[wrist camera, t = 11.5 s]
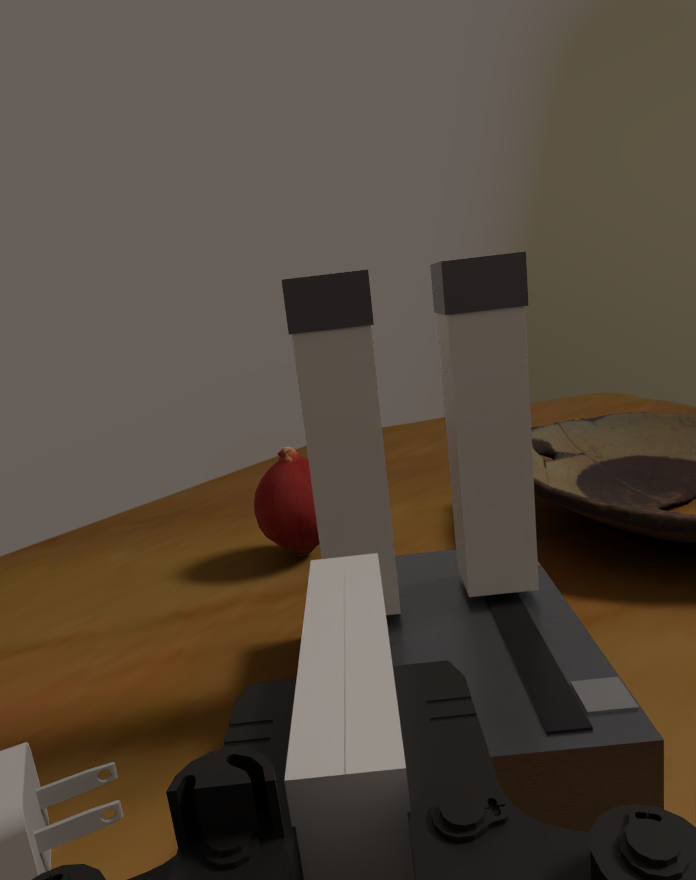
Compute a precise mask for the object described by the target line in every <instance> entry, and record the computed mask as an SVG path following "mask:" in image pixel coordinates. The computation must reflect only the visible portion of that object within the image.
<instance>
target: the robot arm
mask: <svg viewBox="0 0 696 880" xmlns="http://www.w3.org/2000/svg"><path fill="white" fill-rule="evenodd" d="M166 793H167V798H168V802H169V807H170V812H171V816H172V821H173V826H174V831H175V835H176V840H177V845H178V851H177V854H176V855H175V856H174V857H173V858H171V859H170V860H168V861H167V862H165V863H164V864H162V865H160V866H158V867H156V868H154V869H152V870H150V871H148V872H146V873H143V874H140V875H138V876H135V877H133V878H130V879H128V880H696V827H694V826H693V825H692V824H690V823H689V822H688V821H687V820H685V819H684V818H682V817H680V816H678V815H675V814H673V813H671V812H668V811H666V810H664V809H661V808H659V807H652V806H646V805H640V804H631V805H623V806H616V807H613V808H611V809H610V810H608V811H606V812H605V813H603V814H601V815H599V816H598V818H597V820H596V821H595V823H594V825H593V826H592V828H591V830H590V833H589V832H584V831H578V830H572V829H566V828H561V827H557V826H553V825H549V824H546V823H542V822H540V821H538V820H536V819H534V818H532V817H529V816H527V815H526V814H524V813H523V812H522V811H520V810H519V809H518V808H516V807H515V806H514V805H513V804H512V803H511V802H510V800H509V798H508V797H507V796H506V795H504V793H503V791H502V789H501V787H500V785H499V782H498V779H497V776H496V773H495V770H494V767H493V763H492V760H491V757H490V754H489V751H488V748H487V744H486V741H485V738H484V735H483V732H482V729H481V726H480V722H479V719H478V718H477V713H476V710H475V707H474V703H473V700H472V698H471V694H470V691H469V688H468V684H467V681H466V678H465V676H464V675H463V674H462V673H461V672H460V671H459V670H458V669H457V668H456V667H455V666H453V665H452V664H451V663H450V662H449V661H448V660H444V661H435V662H426V663H416V664H407V665H398V666H393V665H392V658H391V650H390V643H389V635H388V627H387V620H386V612H385V605H384V597H383V589H382V582H381V574H380V567H379V559H378V553H374V554H365V555H356V556H347V557H338V558H329V559H319V560H311V564H310V572H309V581H308V589H307V597H306V606H305V614H304V622H303V630H302V639H301V647H300V655H299V664H298V672H297V678H296V679H286V680H277V681H268V682H258V683H251V684H250V685H249V686H248V687H247V689H246V690H245V691H244V692H243V693H242V695H241V696H240V697H239V698H238V699H237V701H236V702H235V703H234V707H233V711H232V714H231V718H230V722H229V728H228V729H227V733H226V737H225V741H224V747H223V748H222V750H218V751H214V752H210V753H208V754H206V755H204V756H202V757H200V758H198V759H196V760H194V761H192V762H191V763H189V764H188V765H187V766H186V767H185V768H184V769H183V770H182V771H180V772H179V773H178V774H177V775H176V776H175V778H174V779H173V781H172V783H171V785H170V786H169V788H168V790H167V791H166ZM32 880H106V879H105V878H104V876H103V875H102V873H101V872H100V870H98V869H96V868H93V867H90V866H88V865H85V864H76V865H63V866H60V867H58V868H55V869H52V870H49V871H47V872H44V873H41V874H39V875H38V876H36V877H35V878H33V879H32Z"/></svg>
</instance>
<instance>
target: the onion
mask: <svg viewBox="0 0 696 880" xmlns="http://www.w3.org/2000/svg"><path fill="white" fill-rule="evenodd" d="M278 456H280V457H279V461H278V462H277V463H275V464H274V465H273V466H272V467H270V469H269V470H268V471H267V472H266V473H265V475H264V476H263V478H262V479H261V481H260V483H259V485H258V487H257V490H256V493H255V500H254V509H255V516H256V519H257V522H258V525H259V528H260V529H261V531H262V532H263V533H264V535H265V536H266V537H267V538H269V539H270V540H272V541H273V542H275V543H276V544H278V545H280V546H282V547H284V548H286V549H288V550H289V551H291V552H292V553H293V554H294V555H297V556H305V555H308V554H309V553H310V552H312V550H313V549H314V548H315V547H316V546H318V545H319V544H320V543H319V535H318V528H317V520H316V513H315V505H314V498H313V490H312V483H311V475H310V468H309V460H307V459H305V458H303V457H301V456H300V455H299V454H298V453H297V451H296V450H294V449H293V448H291V447H284V448H283V449H282V450H281V451H280V452H279V453H278Z"/></svg>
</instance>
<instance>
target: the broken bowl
mask: <svg viewBox="0 0 696 880" xmlns="http://www.w3.org/2000/svg"><path fill="white" fill-rule="evenodd" d="M531 437H532V458H533V478H534V493H535V494H537V495H538V496H540V497H542V498H544V499H546V500H548V501H551V502H553V503H555V504H557V505H559V506H562V507H564V508H566V509H568V510H571V511H573V512H576V513H578V514H581V515H583V516H586V517H588V518H591V519H594V520H596V521H599V522H602V523H604V524H607V525H610V526H613V527H616V528H619V529H622V530H626V531H629V532H633V533H637V534H640V535H645V536H649V537H653V538H658V539H664V540H670V541H677V542H686V543H696V516H695V515H688V514H683V513H678V512H670V511H665V510H661V508H663V509H664V508H666V507H669V506H672V505H677V504H681V503H684V502H686V501H688V500H692V499H693V498H695V497H696V415H693V414H681V413H668V414H660V413H648V412H640V413H622V414H609V415H604V416H599V417H596V418H589V419H584V418H583V419H580V420H578V421H577V420H574V419H573V420H568V421H565V422H561V423H558V422H557V423H556V422H555V424H554V425H545V426H538V427H532V428H531ZM541 455H543V456H546V457H549V458H552V459H553V461H545V460H544V459H543V458H542V457H541Z"/></svg>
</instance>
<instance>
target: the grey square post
mask: <svg viewBox="0 0 696 880" xmlns="http://www.w3.org/2000/svg"><path fill="white" fill-rule="evenodd" d="M282 285H283V286H282V287H283V293H284V301H285V309H286V316H287V323H288V331H289V334H292V339H293V347H294V355H295V362H296V370H297V377H298V384H299V392H300V400H301V407H302V415H303V422H304V429H305V437H306V445H307V452H308V460H309V468H310V475H311V483H312V490H313V498H314V505H315V513H316V520H317V528H318V535H319V543H320V550H321V558H322V559H329V558H338V557H347V556H356V555H365V554H374V553H378V559H379V567H380V574H381V582H382V589H383V597H384V605H385V612H386V615H393V614H401V609H400V600H399V590H398V580H397V571H396V561H395V552H394V542H393V532H392V523H391V513H390V504H389V494H388V484H387V475H386V465H385V456H384V446H383V436H382V427H381V418H380V408H379V398H378V389H377V379H376V369H375V360H374V350H373V341H372V331H371V325H373V314H372V304H371V295H370V285H369V276H368V270H361V271H353V272H345V273H336V274H328V275H319V276H310V277H302V278H293V279H285V280H282Z"/></svg>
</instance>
